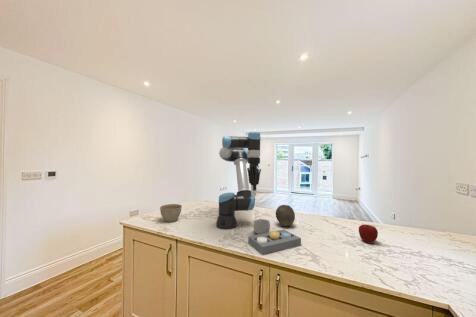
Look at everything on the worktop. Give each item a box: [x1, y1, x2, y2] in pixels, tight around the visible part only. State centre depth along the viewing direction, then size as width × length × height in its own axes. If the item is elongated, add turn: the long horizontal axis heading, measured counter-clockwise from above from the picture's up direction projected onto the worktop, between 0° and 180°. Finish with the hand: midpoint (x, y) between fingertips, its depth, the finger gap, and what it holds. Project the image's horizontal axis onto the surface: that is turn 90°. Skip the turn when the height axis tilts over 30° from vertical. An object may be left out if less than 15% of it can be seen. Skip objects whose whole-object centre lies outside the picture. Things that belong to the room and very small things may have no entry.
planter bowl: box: [159, 203, 183, 223], centre depth 152 cm, size 16×16×11 cm
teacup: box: [252, 218, 271, 235], centre depth 129 cm, size 14×11×8 cm
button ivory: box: [257, 237, 267, 244], centre depth 108 cm, size 6×6×4 cm
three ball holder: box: [247, 229, 302, 256], centre depth 112 cm, size 15×26×4 cm, turn 116°
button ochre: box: [269, 230, 279, 241], centre depth 112 cm, size 6×6×4 cm
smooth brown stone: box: [275, 204, 296, 227], centre depth 143 cm, size 14×14×15 cm
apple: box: [358, 224, 379, 244], centre depth 116 cm, size 10×10×10 cm
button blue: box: [281, 231, 292, 238], centre depth 115 cm, size 6×6×4 cm
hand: (253, 195), depth 119 cm, fingers closed
